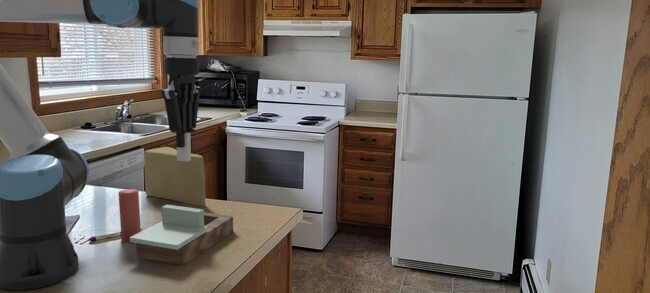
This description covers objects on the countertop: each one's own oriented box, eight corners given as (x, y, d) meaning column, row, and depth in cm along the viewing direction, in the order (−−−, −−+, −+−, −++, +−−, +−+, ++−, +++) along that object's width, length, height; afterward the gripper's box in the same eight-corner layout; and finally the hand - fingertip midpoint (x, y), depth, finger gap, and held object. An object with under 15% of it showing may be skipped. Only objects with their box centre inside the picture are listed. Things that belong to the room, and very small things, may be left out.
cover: (177, 249, 103) (176, 227, 102) (129, 241, 107) (128, 219, 106) (208, 230, 114) (207, 210, 113) (163, 224, 118) (163, 204, 117)
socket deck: (183, 265, 106) (182, 247, 105) (136, 256, 109) (135, 239, 109) (233, 231, 126) (233, 216, 126) (192, 225, 130) (192, 210, 129)
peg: (132, 244, 117) (129, 195, 114) (117, 241, 118) (114, 193, 116) (144, 237, 121) (142, 190, 118) (129, 235, 122) (127, 188, 120)
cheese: (216, 202, 150) (215, 154, 147) (191, 210, 142) (189, 159, 139) (170, 189, 163) (168, 145, 160) (144, 196, 155) (142, 149, 152)
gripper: (180, 57, 102) (183, 167, 107) (211, 57, 115) (212, 156, 119) (149, 56, 104) (153, 164, 109) (182, 56, 117) (184, 153, 121)
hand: (184, 160), depth 114 cm, fingers closed
